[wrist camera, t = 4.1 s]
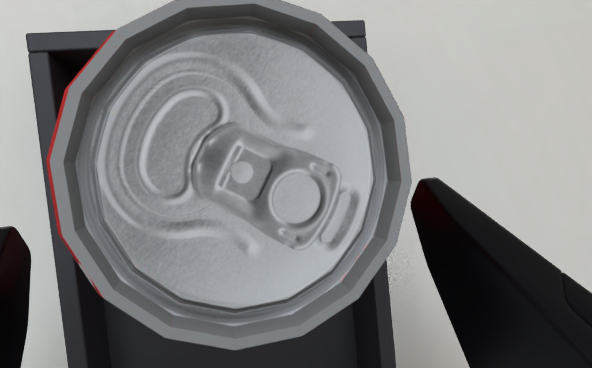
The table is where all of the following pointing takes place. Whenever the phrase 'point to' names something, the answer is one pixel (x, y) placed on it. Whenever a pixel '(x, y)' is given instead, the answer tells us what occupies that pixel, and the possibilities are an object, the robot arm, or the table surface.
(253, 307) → the soda can
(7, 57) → the table surface
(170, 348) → the dark grey tray
